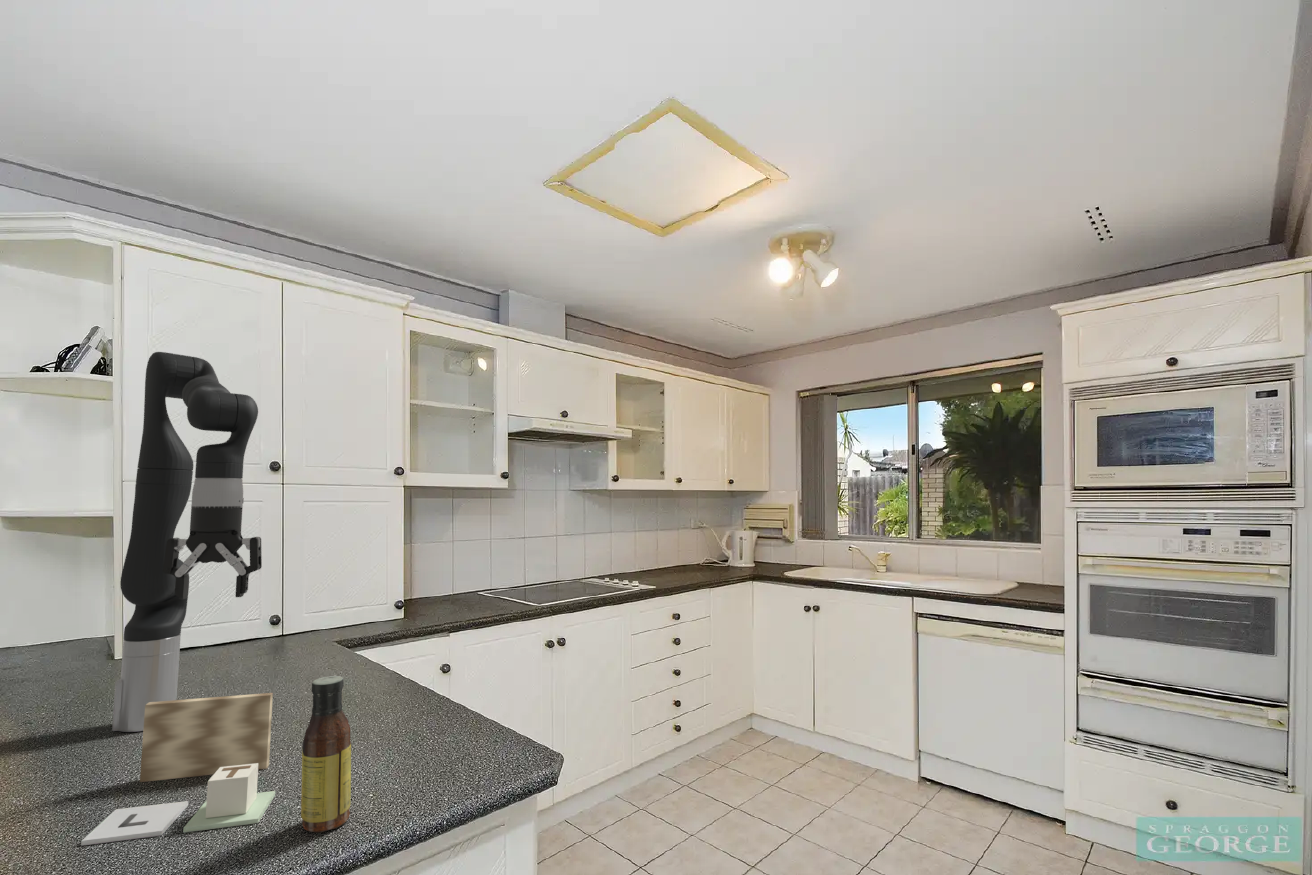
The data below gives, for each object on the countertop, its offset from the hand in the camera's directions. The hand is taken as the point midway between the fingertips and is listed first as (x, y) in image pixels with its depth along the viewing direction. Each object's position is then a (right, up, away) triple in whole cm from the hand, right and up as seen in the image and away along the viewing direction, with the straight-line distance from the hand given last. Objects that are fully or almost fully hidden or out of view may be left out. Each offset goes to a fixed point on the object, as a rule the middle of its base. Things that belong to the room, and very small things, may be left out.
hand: (211, 597), depth 113 cm
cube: (+16, -26, -19) cm, 36 cm away
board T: (+16, -27, -19) cm, 36 cm away
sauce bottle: (+31, -27, -22) cm, 46 cm away
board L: (+5, -26, -22) cm, 35 cm away
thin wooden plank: (+3, -28, -6) cm, 28 cm away
